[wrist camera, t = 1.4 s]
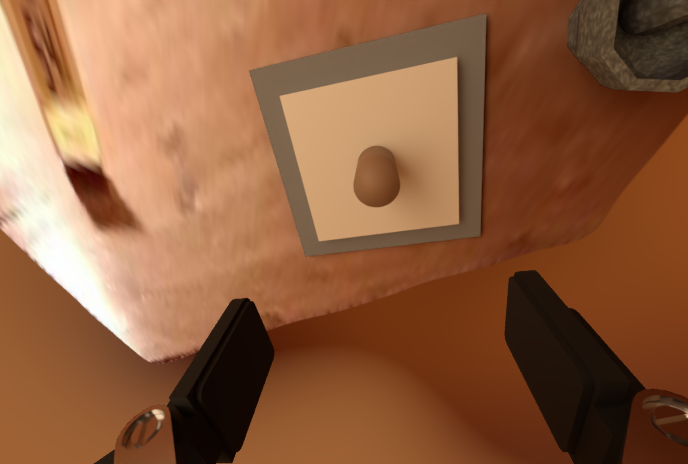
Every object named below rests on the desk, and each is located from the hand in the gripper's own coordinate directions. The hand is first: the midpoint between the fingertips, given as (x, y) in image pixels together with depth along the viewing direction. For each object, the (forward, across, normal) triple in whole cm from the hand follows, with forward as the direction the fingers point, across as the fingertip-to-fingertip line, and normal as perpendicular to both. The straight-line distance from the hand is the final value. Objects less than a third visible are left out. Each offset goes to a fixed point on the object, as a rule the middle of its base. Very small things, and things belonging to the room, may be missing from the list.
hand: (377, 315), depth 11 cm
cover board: (+21, 0, 0) cm, 21 cm away
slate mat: (+21, 0, 0) cm, 21 cm away
